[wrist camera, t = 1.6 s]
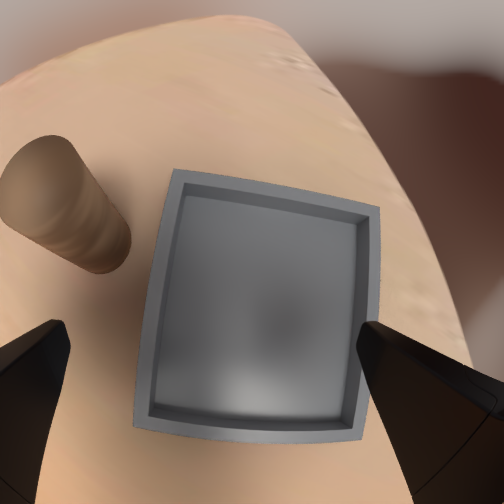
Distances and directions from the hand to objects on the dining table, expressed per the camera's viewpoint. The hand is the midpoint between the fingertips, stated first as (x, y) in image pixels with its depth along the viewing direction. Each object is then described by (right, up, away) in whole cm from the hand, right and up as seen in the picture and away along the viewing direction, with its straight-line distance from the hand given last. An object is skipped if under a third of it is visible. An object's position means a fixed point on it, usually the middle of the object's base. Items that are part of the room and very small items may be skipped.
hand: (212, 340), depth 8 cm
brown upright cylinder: (-11, +3, +13) cm, 17 cm away
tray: (+2, -2, +14) cm, 14 cm away
